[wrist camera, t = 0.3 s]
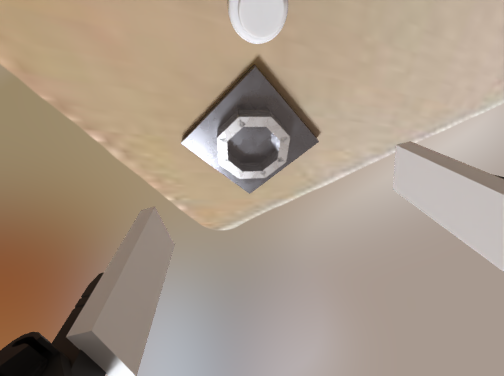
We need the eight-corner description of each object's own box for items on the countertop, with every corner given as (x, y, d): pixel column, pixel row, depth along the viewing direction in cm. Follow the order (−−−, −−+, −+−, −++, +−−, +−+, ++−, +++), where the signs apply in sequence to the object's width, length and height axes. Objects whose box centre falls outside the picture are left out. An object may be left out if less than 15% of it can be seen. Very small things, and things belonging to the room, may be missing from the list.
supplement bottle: (280, 20, 29) (301, 33, 21) (238, 40, 30) (244, 59, 22) (265, -39, 25) (284, -49, 17) (218, -14, 26) (217, -14, 18)
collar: (254, 64, 32) (257, 71, 29) (316, 138, 40) (323, 149, 37) (182, 139, 38) (178, 151, 35) (249, 189, 46) (250, 202, 44)
